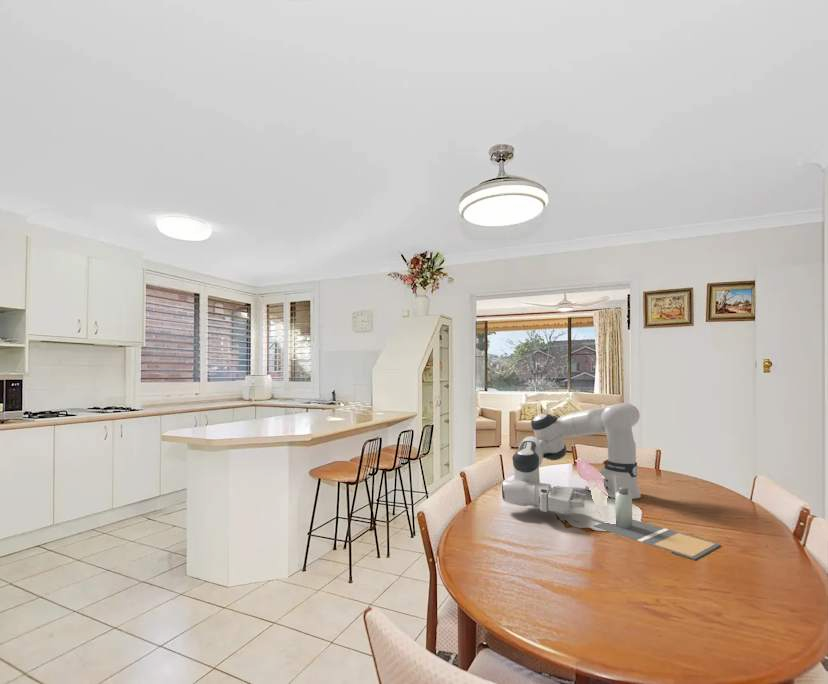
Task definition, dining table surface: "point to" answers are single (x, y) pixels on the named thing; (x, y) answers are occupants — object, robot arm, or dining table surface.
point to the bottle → (623, 508)
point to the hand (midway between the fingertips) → (585, 500)
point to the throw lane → (663, 539)
